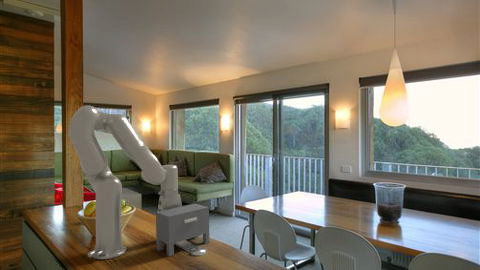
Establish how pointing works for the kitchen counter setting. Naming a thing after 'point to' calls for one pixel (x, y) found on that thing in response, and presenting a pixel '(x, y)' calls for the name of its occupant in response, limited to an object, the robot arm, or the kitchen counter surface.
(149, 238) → the kitchen counter surface
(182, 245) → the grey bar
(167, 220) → the cabinet
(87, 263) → the kitchen counter surface
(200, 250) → the token
